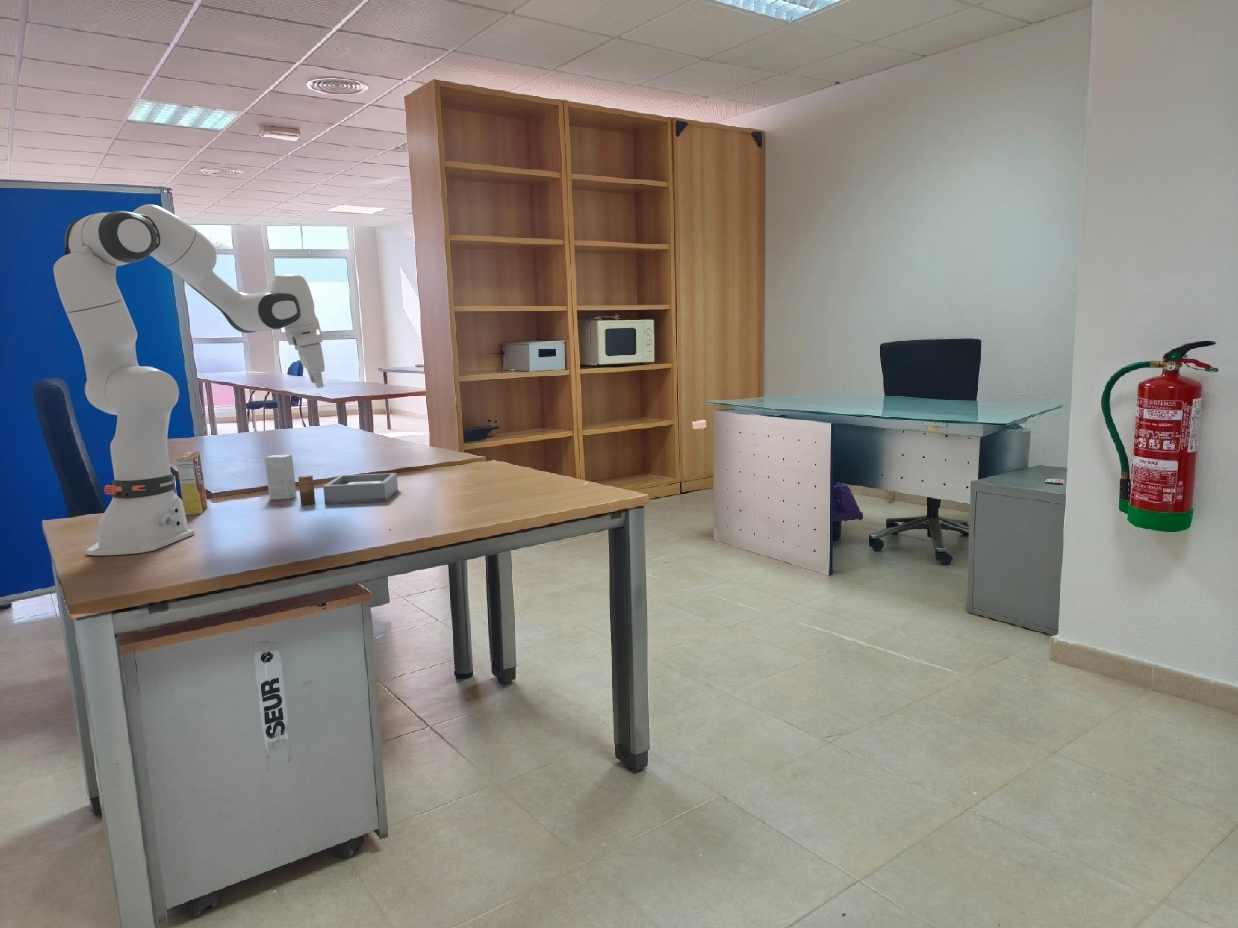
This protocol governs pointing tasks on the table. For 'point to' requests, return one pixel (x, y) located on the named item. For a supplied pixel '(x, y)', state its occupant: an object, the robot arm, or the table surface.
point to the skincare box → (280, 477)
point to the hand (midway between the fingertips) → (317, 385)
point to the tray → (360, 488)
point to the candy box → (191, 483)
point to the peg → (306, 490)
